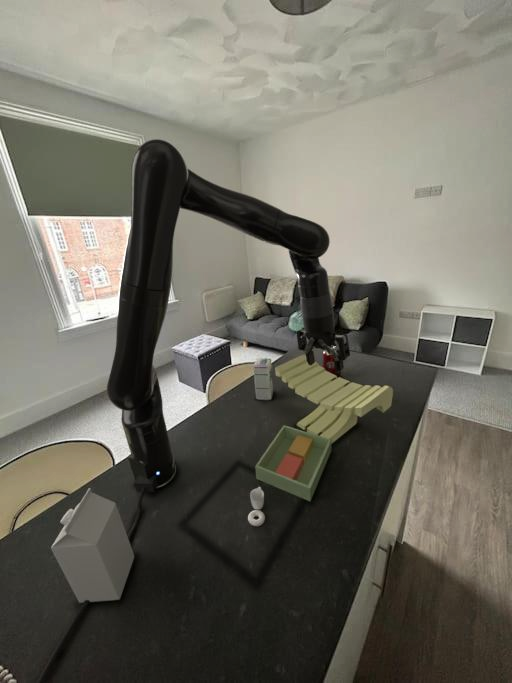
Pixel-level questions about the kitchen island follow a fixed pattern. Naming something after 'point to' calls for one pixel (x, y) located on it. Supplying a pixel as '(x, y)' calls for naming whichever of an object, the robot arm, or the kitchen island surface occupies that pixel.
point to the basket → (310, 469)
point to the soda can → (329, 363)
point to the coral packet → (290, 467)
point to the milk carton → (94, 549)
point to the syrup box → (263, 379)
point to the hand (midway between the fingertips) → (325, 367)
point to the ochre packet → (301, 447)
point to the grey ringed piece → (256, 507)
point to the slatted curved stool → (331, 397)
